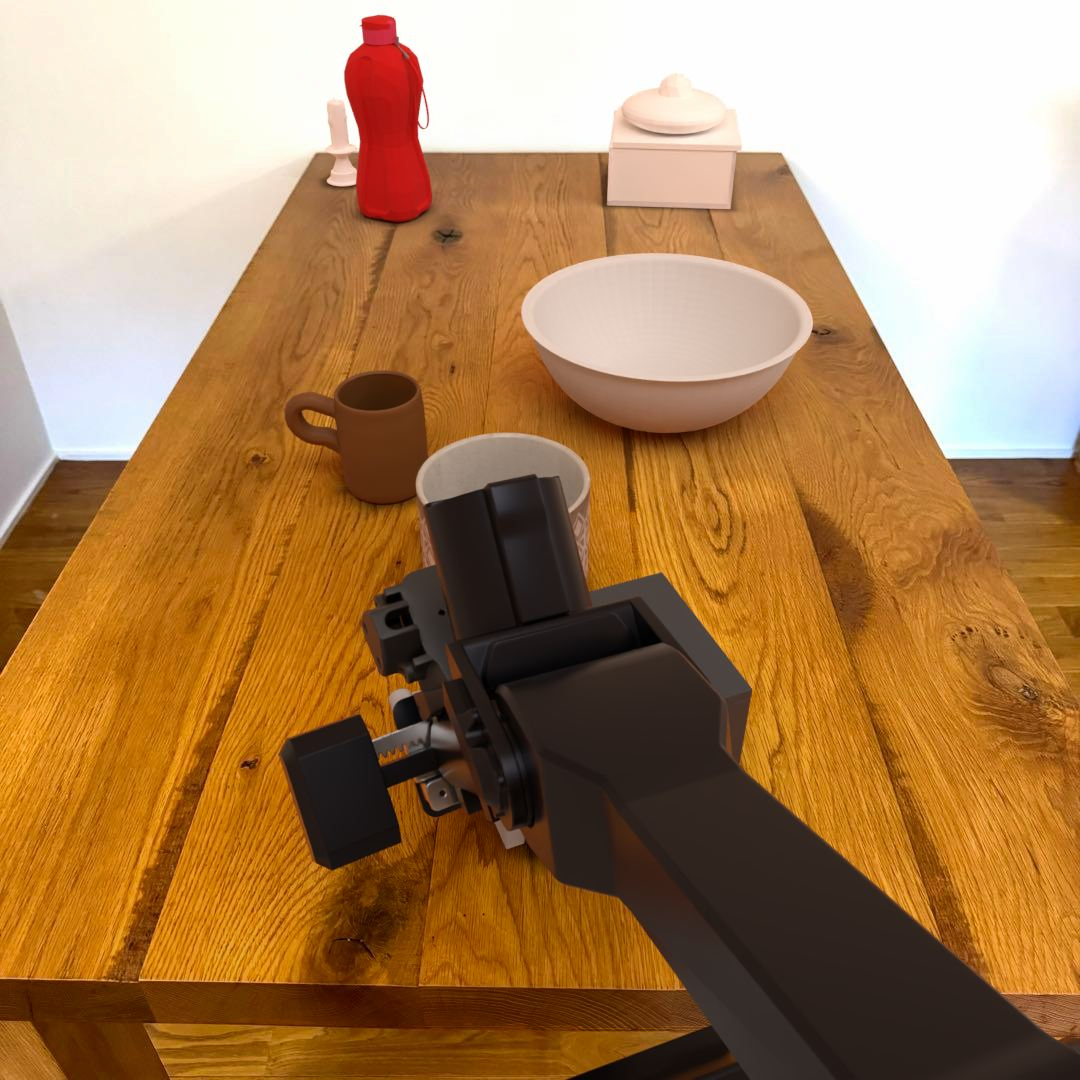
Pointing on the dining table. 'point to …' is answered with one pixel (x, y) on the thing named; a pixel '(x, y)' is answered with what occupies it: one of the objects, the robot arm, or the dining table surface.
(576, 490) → the planter
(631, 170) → the pink lidded box
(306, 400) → the mug
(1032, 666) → the dining table surface
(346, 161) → the candle
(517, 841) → the drawer
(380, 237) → the dining table surface
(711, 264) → the bowl
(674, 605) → the dark grey cabinet
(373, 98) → the water bottle
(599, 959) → the dining table surface
